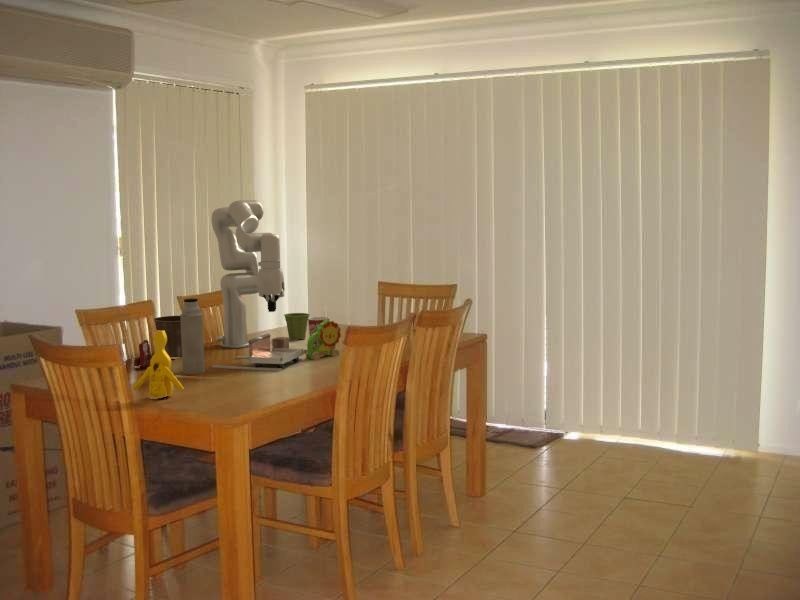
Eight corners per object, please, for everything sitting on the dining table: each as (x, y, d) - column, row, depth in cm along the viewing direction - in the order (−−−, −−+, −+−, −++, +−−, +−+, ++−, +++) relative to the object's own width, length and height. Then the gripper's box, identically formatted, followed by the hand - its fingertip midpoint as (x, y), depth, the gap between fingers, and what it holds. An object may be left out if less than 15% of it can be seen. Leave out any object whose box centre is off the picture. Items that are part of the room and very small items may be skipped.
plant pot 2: (309, 341, 416) (308, 315, 414) (282, 341, 416) (281, 316, 414) (312, 336, 427) (311, 312, 426) (286, 337, 427) (285, 312, 426)
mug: (329, 351, 388) (328, 319, 386) (307, 351, 388) (306, 319, 386) (331, 346, 400) (330, 315, 399) (310, 346, 400) (309, 315, 398)
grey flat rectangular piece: (212, 370, 352) (212, 365, 351) (237, 360, 372) (237, 356, 371) (280, 373, 343) (280, 368, 343) (302, 362, 363) (302, 358, 363)
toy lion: (313, 362, 365) (312, 323, 363) (304, 360, 368) (303, 322, 367) (344, 356, 376) (343, 319, 374) (335, 355, 379) (334, 318, 378)
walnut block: (272, 358, 374) (272, 338, 373) (278, 356, 378) (277, 336, 377) (284, 359, 372) (283, 339, 371) (289, 356, 377) (288, 337, 376)
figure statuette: (129, 400, 303) (126, 333, 300) (139, 394, 311) (136, 329, 308) (182, 400, 301) (179, 333, 298) (191, 395, 308) (188, 329, 306)
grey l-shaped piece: (246, 368, 348) (245, 340, 347) (269, 359, 367) (268, 332, 366) (282, 370, 344) (281, 342, 342) (303, 360, 363) (302, 333, 361)
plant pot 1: (203, 357, 379) (201, 318, 377) (166, 362, 369) (164, 322, 367) (185, 352, 391) (183, 314, 390) (148, 357, 381) (147, 318, 379)
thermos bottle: (190, 371, 349) (187, 297, 346) (209, 372, 347) (206, 297, 343) (178, 375, 342) (175, 299, 339) (197, 376, 339) (194, 300, 336)
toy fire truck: (159, 364, 365) (158, 338, 364) (151, 370, 353) (150, 343, 352) (141, 364, 365) (140, 338, 364) (133, 370, 353) (131, 343, 352)
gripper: (249, 265, 367) (250, 312, 369) (283, 266, 362) (285, 313, 364) (258, 264, 374) (259, 309, 376) (291, 264, 369) (293, 310, 371)
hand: (272, 311), depth 370 cm, fingers closed
